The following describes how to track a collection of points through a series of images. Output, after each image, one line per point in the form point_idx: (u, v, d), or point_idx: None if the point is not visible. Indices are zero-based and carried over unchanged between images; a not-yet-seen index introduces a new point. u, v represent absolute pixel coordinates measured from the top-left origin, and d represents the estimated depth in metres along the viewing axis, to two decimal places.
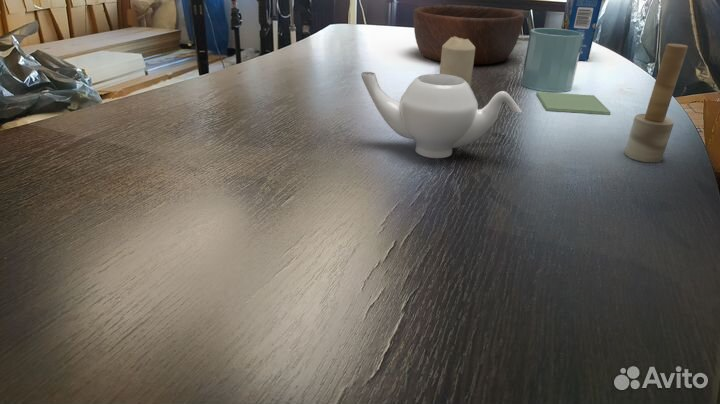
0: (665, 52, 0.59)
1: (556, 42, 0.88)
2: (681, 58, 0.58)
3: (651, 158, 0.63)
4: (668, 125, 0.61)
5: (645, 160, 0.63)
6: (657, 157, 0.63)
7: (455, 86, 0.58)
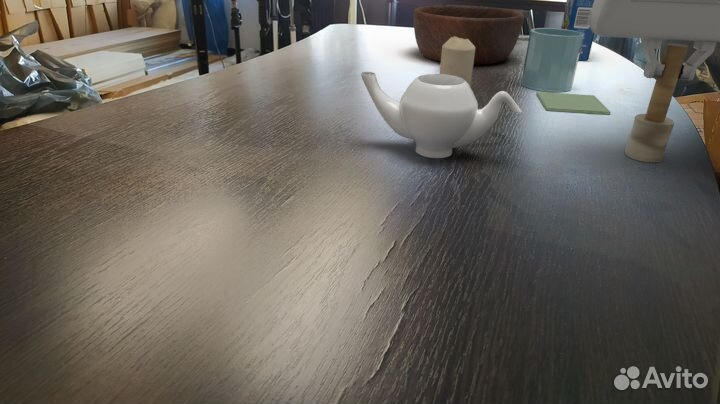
0: (665, 52, 0.59)
1: (556, 42, 0.88)
2: (682, 58, 0.58)
3: (651, 158, 0.63)
4: (668, 125, 0.61)
5: (645, 160, 0.63)
6: (657, 157, 0.63)
7: (455, 86, 0.58)
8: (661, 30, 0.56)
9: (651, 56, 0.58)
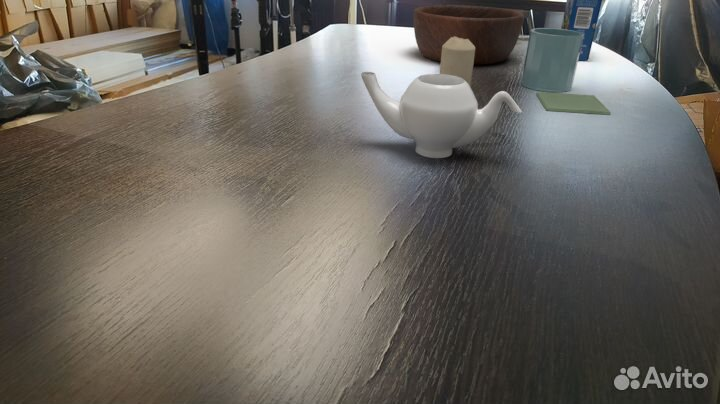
0: None
1: (556, 42, 0.88)
2: None
3: None
4: None
5: None
6: None
7: (455, 86, 0.58)
8: None
9: None
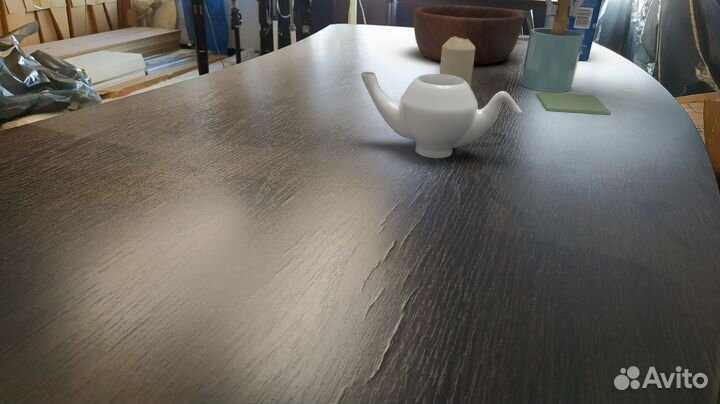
0: None
1: (556, 42, 0.88)
2: (568, 1, 0.87)
3: None
4: None
5: None
6: None
7: (455, 86, 0.58)
8: None
9: (548, 0, 0.88)
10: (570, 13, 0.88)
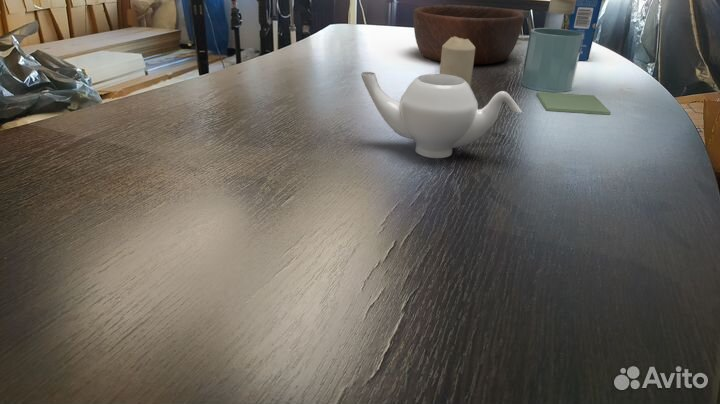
0: None
1: (556, 42, 0.88)
2: None
3: (564, 10, 0.88)
4: None
5: (560, 12, 0.89)
6: (569, 10, 0.88)
7: (455, 86, 0.58)
8: None
9: None
10: None
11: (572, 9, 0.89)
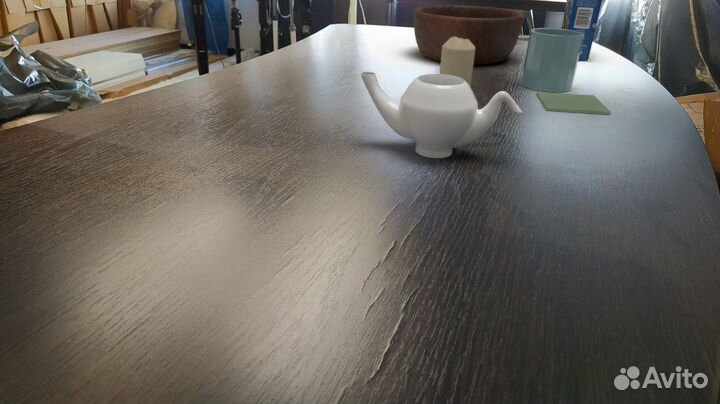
0: None
1: (556, 42, 0.88)
2: None
3: None
4: None
5: None
6: None
7: (455, 86, 0.58)
8: None
9: None
10: None
11: None
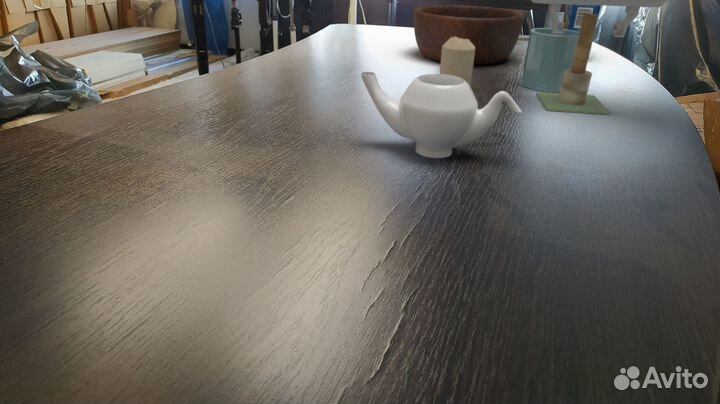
0: (582, 20, 0.79)
1: (556, 42, 0.88)
2: (594, 24, 0.78)
3: (575, 101, 0.83)
4: (587, 75, 0.81)
5: (571, 103, 0.83)
6: (580, 100, 0.83)
7: (455, 86, 0.58)
8: None
9: (554, 17, 0.79)
10: (617, 33, 0.79)
11: (583, 100, 0.83)
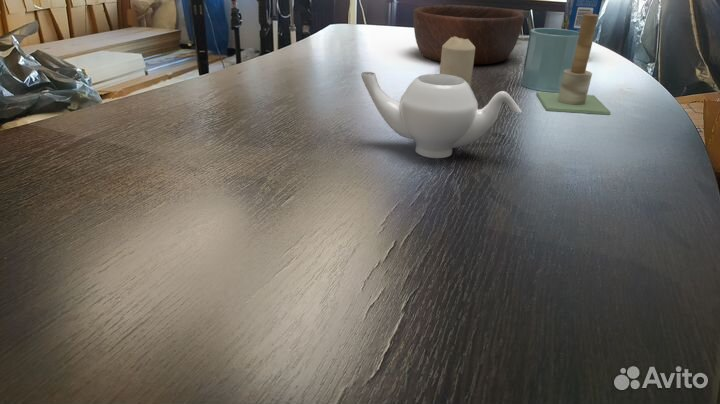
0: (582, 20, 0.79)
1: (556, 42, 0.88)
2: (594, 24, 0.78)
3: (575, 101, 0.83)
4: (587, 75, 0.81)
5: (571, 103, 0.83)
6: (580, 100, 0.83)
7: (455, 86, 0.58)
8: None
9: None
10: None
11: (583, 100, 0.83)
